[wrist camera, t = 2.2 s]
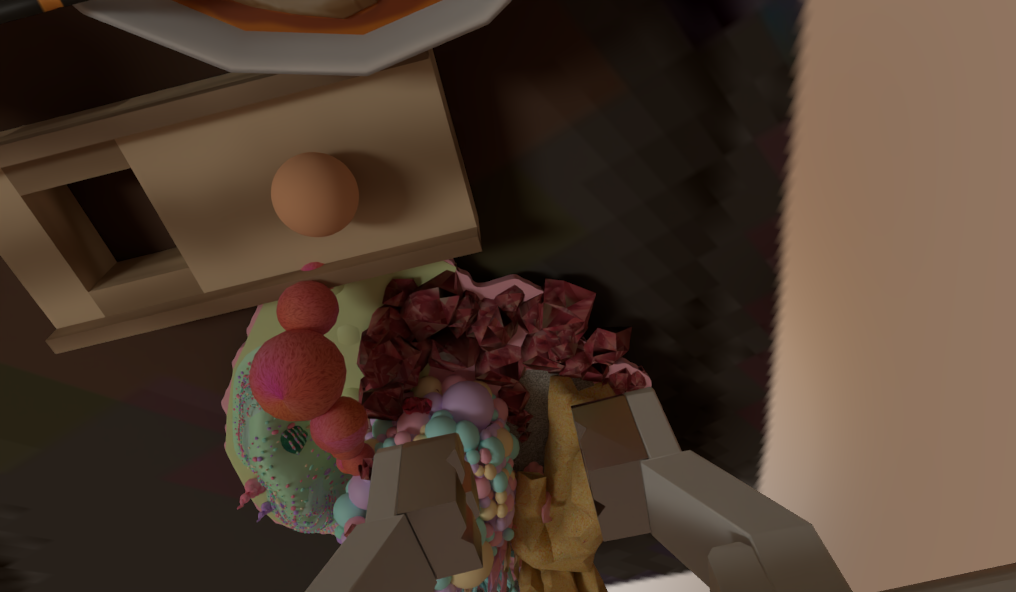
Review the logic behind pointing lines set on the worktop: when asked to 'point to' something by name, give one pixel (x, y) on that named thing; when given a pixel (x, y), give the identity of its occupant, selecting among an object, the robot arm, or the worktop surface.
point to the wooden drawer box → (232, 195)
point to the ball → (314, 194)
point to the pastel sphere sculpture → (431, 408)
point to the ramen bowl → (285, 29)
